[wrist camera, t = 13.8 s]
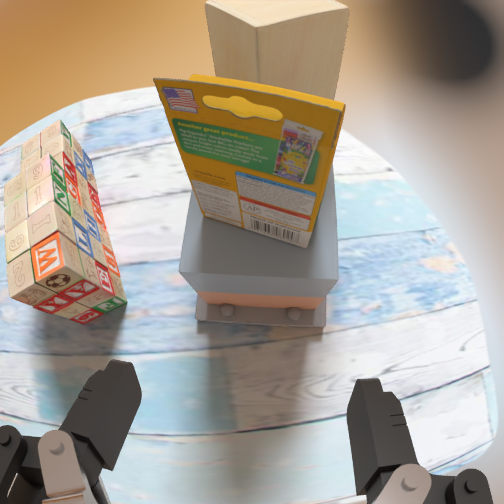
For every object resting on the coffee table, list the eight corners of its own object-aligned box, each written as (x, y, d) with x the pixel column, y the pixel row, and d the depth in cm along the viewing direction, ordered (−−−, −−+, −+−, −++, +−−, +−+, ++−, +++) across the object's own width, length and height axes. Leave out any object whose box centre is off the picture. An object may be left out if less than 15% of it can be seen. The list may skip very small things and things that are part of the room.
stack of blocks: (56, 182, 37) (9, 129, 26) (92, 161, 38) (50, 100, 26) (83, 325, 30) (7, 298, 18) (130, 303, 31) (63, 265, 19)
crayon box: (319, 210, 21) (357, 68, 10) (307, 250, 20) (345, 115, 9) (219, 181, 22) (185, 40, 11) (201, 216, 21) (148, 79, 10)
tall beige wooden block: (281, 135, 37) (285, -22, 18) (320, 174, 35) (353, 8, 15) (226, 164, 36) (196, 0, 16) (263, 209, 34) (255, 30, 14)
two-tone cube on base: (197, 320, 30) (160, 293, 19) (211, 209, 34) (189, 142, 23) (323, 327, 29) (354, 303, 18) (322, 214, 33) (343, 147, 23)
